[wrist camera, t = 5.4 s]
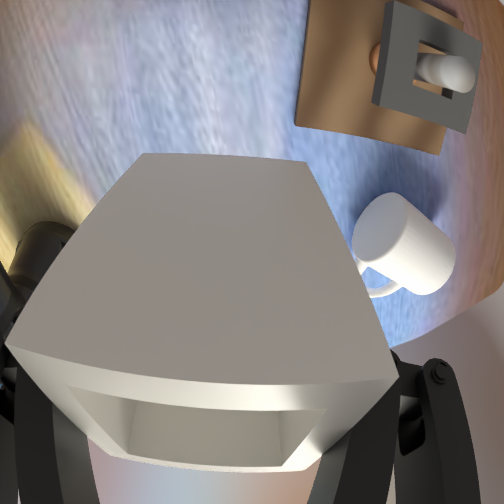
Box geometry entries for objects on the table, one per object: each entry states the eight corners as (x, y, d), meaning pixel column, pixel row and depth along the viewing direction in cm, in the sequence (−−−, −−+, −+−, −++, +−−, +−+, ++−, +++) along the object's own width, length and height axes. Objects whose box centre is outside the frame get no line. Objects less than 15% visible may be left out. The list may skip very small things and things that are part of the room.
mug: (386, 179, 29) (419, 216, 23) (436, 222, 32) (467, 261, 26) (322, 256, 36) (336, 304, 29) (376, 285, 39) (395, 330, 32)
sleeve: (155, 277, 16) (109, 455, 8) (143, 153, 12) (4, 343, 4) (282, 284, 16) (304, 469, 8) (305, 162, 12) (399, 377, 4)
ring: (370, 102, 18) (379, 106, 17) (384, 2, 13) (394, 0, 12) (455, 128, 18) (465, 134, 17) (470, 41, 14) (482, 43, 12)
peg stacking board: (293, 123, 26) (321, 167, 16) (312, -30, 17) (352, -79, 7) (433, 152, 27) (502, 205, 17) (457, 22, 18) (539, 28, 8)
